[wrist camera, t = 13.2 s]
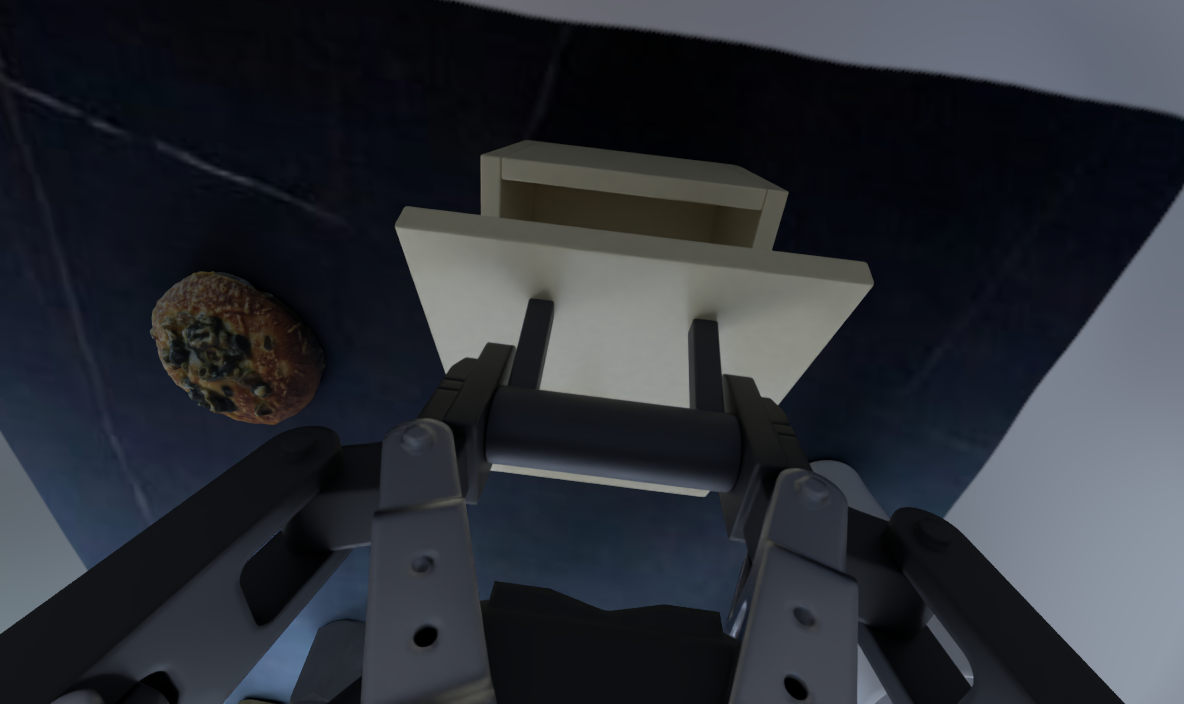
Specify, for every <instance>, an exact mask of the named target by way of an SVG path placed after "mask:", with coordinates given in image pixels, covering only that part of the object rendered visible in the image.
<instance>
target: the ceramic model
mask: <svg viewBox="0 0 1184 704" xmlns="http://www.w3.org/2000/svg"><path fill="white" fill-rule="evenodd" d="M238 704H273V703H267V702H262V701H258V700H257V701H256V700H241V701H240V702H239V703H238Z"/></svg>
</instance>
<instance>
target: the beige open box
mask: <svg viewBox="0 0 1184 704" xmlns="http://www.w3.org/2000/svg"><path fill="white" fill-rule="evenodd" d="M787 196H788V191H786V190H784V189H782V188H780V187H778V186H776V185H774V184H773V183H771V182H769V181H767V180H765V179H763V178H761V177H759V176H757V175H755V174H753V173H751V172H750V171H748V170H746V169H744V168H742V167H739V166H738V165H730V164H722V163H714V162H705V161H697V160H689V159H680V158H672V157H664V156H655V155H647V154H639V153H631V152H622V151H614V150H606V149H597V148H589V147H581V146H573V145H564V144H556V143H548V142H539V141H531V140H525V141H522V142H519V143H516V144H513V145H510V146H507V147H504V148H501V149H498V150H495V151H492V152H489V153H486V154H483V155H481V215H483V216H491V217H499V218H507V219H515V220H524V221H532V222H540V223H548V224H556V225H565V226H573V227H581V228H589V229H598V230H606V231H614V232H622V233H630V234H639V235H647V236H655V237H663V238H671V239H680V240H688V241H696V242H704V243H713V244H721V245H729V246H737V247H745V248H754V249H762V250H770V251H772V248H773V244H774V241H775V237H776V234H777V230H778V227H779V224H780V220H781V217H782V213H783V210H784V207H785V203H786V200H787Z"/></svg>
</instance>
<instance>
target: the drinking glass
mask: <svg viewBox="0 0 1184 704" xmlns="http://www.w3.org/2000/svg"><path fill="white" fill-rule="evenodd" d="M809 464H810V466H811V468H812V470H813V472H815V473H817V474H820V475H822V476H824V477H825V478H827V479H828V480H830V481H831V482H833V483H834V484H835V485H836V486H837V487H838V488H839V489H840V490H841V491H842V492H843V494H844V495H845V497H846V499H847V502H848V506H849V507H851V508H854V509H856V510H859V511H861V512H864V513H867V514H870V515H872V516H875V517H878V518H881V519H884V520H886V521H889V520H890V517H889V516H888V515H887V513H886V512H885V511H884V509H883V508H882V507H881V506H880V504H879V503H878V502H877V500H876V499H875V498H874V496H873V495H872V494H871V493H870V491H869V490H868V488H867V487H866V485H865V484H864V482H863V480H862V479H861V477H860V476H859V474H858V473H857V472H856V471H855V470H854V469H853V468H851V467H850V466H848V465H847V464H844V463H842V462H839V461H834V460H820V461H815V462H812V463H809ZM926 625H927V626H928V627H929V629H930V630H931V631H932V633H933V634H934V636H935V637H936V638H937V640H938V641H939V643H940V644H941V645H942V647H943V648H944V649H945V651H946V652H947V654H948V655H949V656H950V658H951V659H952V660H953V662H954V663H955V665H956V666H957V667H958V669H959V670H960V671H961V673H962V674H963V676H964V677H965V678H966V680H967V681H968V682H969V684H970V685H971V687H972V686H973V672H972V669H971V666H970V664H969V661H968V660H967V658H966V656H965V655H964V653H963V652H962V651H961V649H960V648H959V647H958V645H957V644H956V643H955V641H954V640H953V639H952V637H951V636H950V635H949V633H948V632H947V631H946V629H945V628H944V627H943V625H942V624H941V623H940V621H939V620H938V619H937V617H936V616H935V615H933V616H932V618H931V619H930V620H929V621H928V623H927V624H926ZM857 704H893V703H892V701H891V700H890V698H889V696H888V694H887V693H886V691H885V689H884V688H883V686H882V684H881V682H880V681H879V679H878V677H877V675H876V674H875V672H874V670H873V669H872V667H871V665H870V663H869V662H868V660H867V658H866V656H865V655H864V653H863V651H862V650H861V648H860V646H859V644H858V681H857Z"/></svg>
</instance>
